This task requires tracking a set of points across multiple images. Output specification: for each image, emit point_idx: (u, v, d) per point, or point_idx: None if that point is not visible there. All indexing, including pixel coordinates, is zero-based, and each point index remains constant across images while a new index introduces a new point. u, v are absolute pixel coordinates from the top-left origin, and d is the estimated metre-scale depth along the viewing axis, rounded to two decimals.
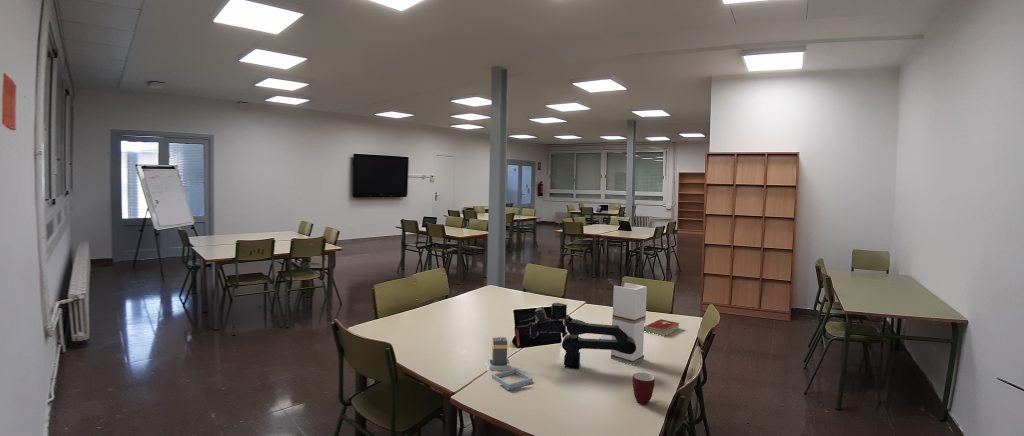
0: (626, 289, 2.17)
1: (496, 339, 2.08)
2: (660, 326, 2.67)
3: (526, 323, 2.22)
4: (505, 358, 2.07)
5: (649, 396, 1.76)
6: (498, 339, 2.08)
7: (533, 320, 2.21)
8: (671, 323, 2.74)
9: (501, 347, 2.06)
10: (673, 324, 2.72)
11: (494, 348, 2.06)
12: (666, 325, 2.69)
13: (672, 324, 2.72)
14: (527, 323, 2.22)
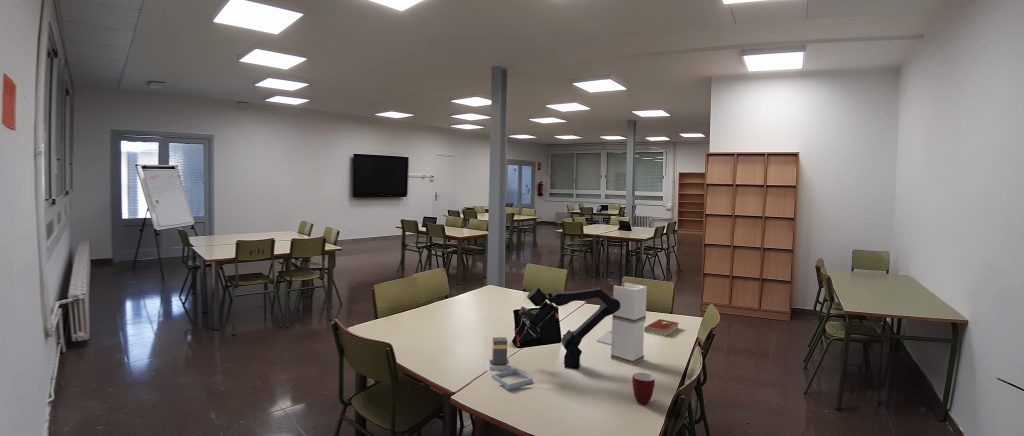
0: (626, 289, 2.17)
1: (496, 339, 2.08)
2: (661, 326, 2.67)
3: (521, 331, 2.14)
4: (505, 358, 2.07)
5: (649, 396, 1.76)
6: (498, 339, 2.08)
7: (523, 323, 2.14)
8: (670, 323, 2.74)
9: (501, 347, 2.06)
10: (673, 324, 2.72)
11: (494, 348, 2.06)
12: (666, 325, 2.69)
13: (671, 324, 2.72)
14: (521, 330, 2.14)
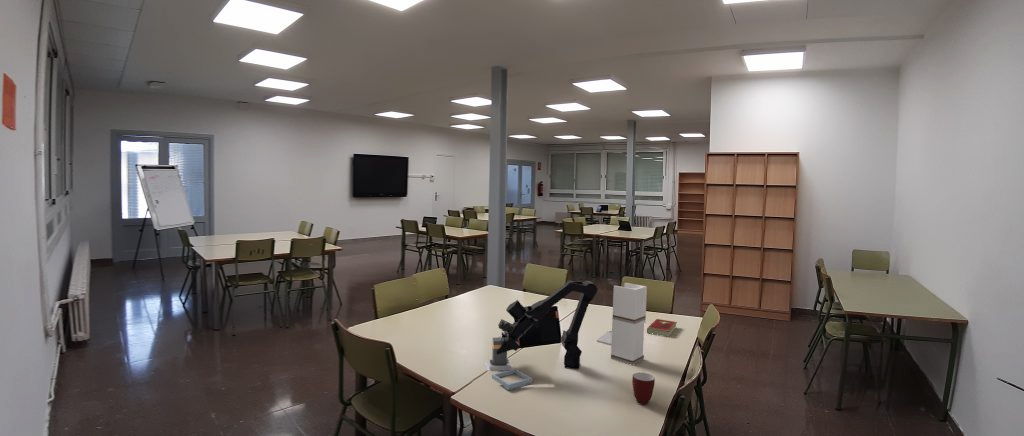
0: (627, 289, 2.17)
1: (496, 339, 2.08)
2: (662, 326, 2.66)
3: None
4: (505, 358, 2.07)
5: (649, 396, 1.76)
6: (498, 339, 2.08)
7: None
8: (669, 322, 2.75)
9: None
10: (672, 323, 2.73)
11: (494, 348, 2.06)
12: (667, 325, 2.70)
13: (671, 323, 2.73)
14: None
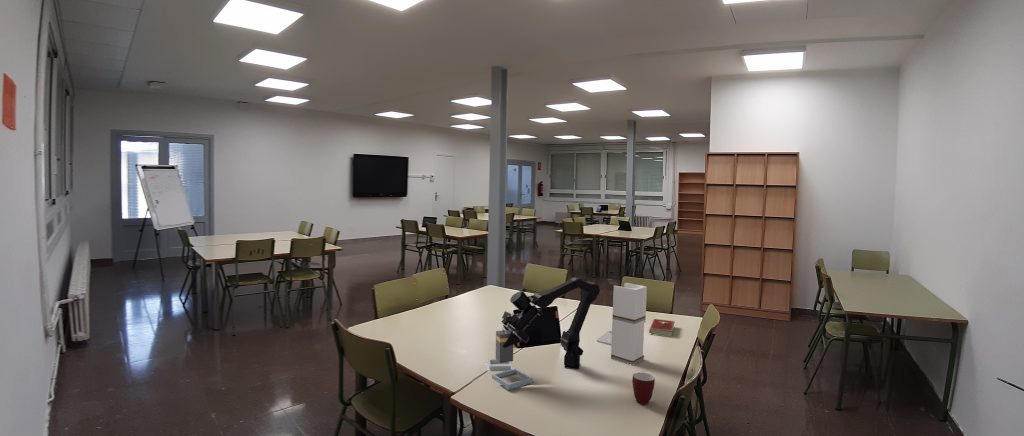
0: (626, 289, 2.17)
1: (501, 332, 1.99)
2: (664, 326, 2.66)
3: None
4: (511, 351, 1.99)
5: (649, 396, 1.76)
6: (503, 332, 1.99)
7: None
8: (668, 322, 2.76)
9: None
10: (671, 323, 2.74)
11: (501, 342, 1.97)
12: (667, 325, 2.70)
13: (670, 323, 2.74)
14: None
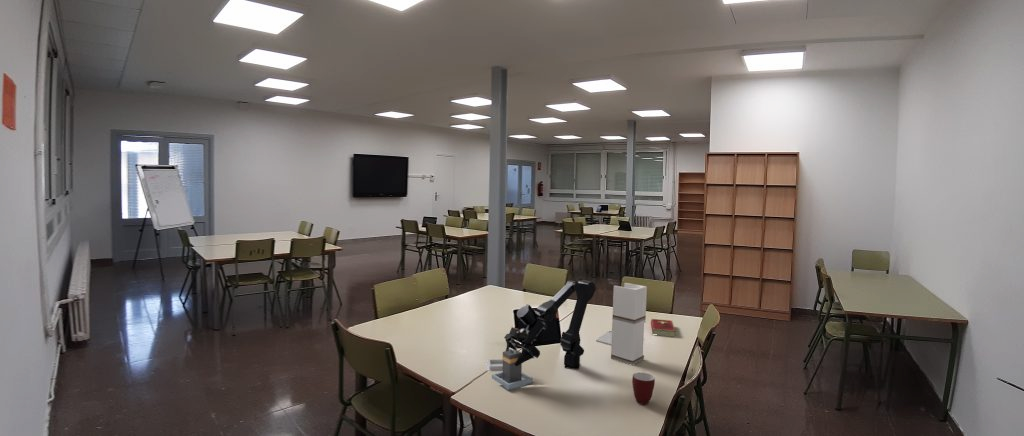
0: (626, 289, 2.17)
1: (509, 353, 1.92)
2: (665, 326, 2.66)
3: None
4: (520, 371, 1.93)
5: (649, 396, 1.76)
6: (511, 352, 1.93)
7: (511, 345, 1.99)
8: (666, 322, 2.76)
9: (516, 360, 1.92)
10: (670, 322, 2.75)
11: (510, 363, 1.90)
12: (667, 324, 2.70)
13: (669, 322, 2.74)
14: None
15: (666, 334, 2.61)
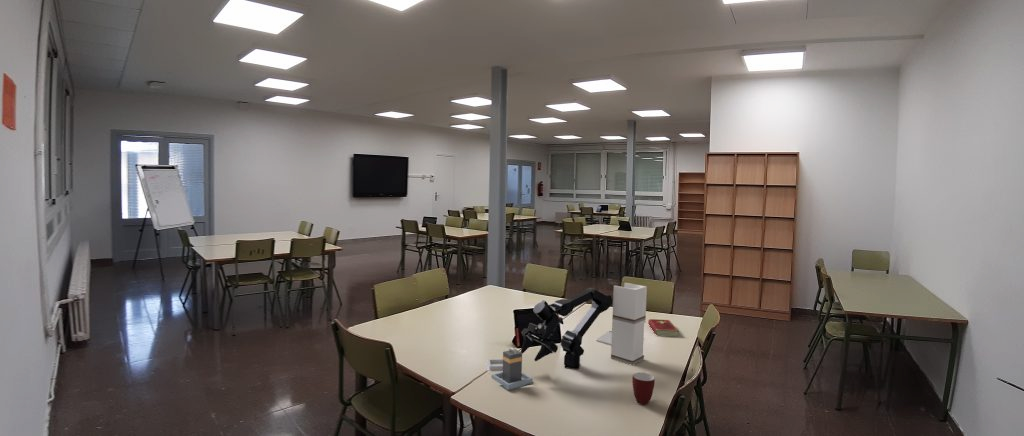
0: (626, 289, 2.17)
1: (509, 353, 1.93)
2: (666, 326, 2.66)
3: (525, 347, 2.04)
4: (520, 371, 1.93)
5: (649, 396, 1.76)
6: (511, 352, 1.93)
7: (527, 339, 2.05)
8: (665, 321, 2.77)
9: (517, 360, 1.92)
10: (668, 322, 2.75)
11: (510, 363, 1.90)
12: (667, 324, 2.71)
13: (667, 322, 2.75)
14: (526, 347, 2.04)
15: (669, 334, 2.61)
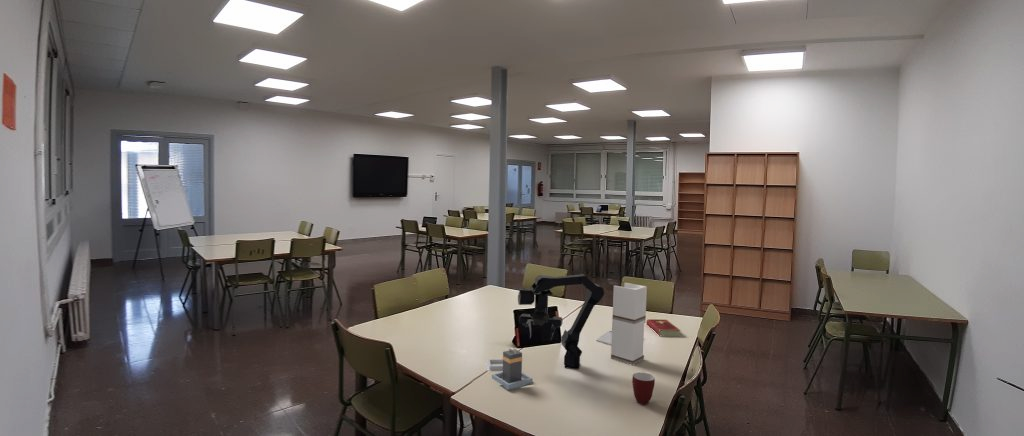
0: (626, 289, 2.17)
1: (509, 353, 1.93)
2: (667, 326, 2.67)
3: (530, 331, 2.11)
4: (520, 371, 1.93)
5: (649, 396, 1.76)
6: (511, 352, 1.93)
7: (529, 324, 2.10)
8: (663, 321, 2.77)
9: (517, 360, 1.92)
10: (667, 322, 2.76)
11: (510, 363, 1.90)
12: (667, 324, 2.71)
13: (666, 322, 2.76)
14: (530, 330, 2.11)
15: (672, 334, 2.61)
